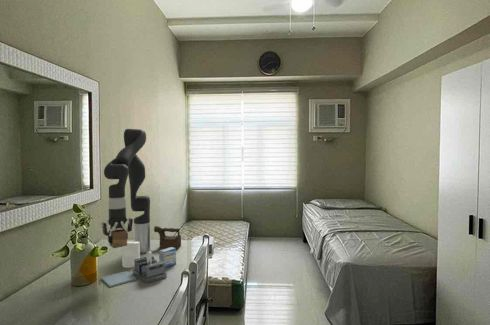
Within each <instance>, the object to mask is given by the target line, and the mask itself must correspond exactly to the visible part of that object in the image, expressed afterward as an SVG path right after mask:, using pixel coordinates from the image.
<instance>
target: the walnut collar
mask: <svg viewBox="0 0 490 325" xmlns="http://www.w3.org/2000/svg"><path fill="white" fill-rule="evenodd" d="M127 241H128V239H127V231H126V230H123V229H122V228H118V229H115V230H114V232H112V244H110V243H109V242H108V243H109V244H108V245H109V246H110V247H111V248H113V249H118V248H122V247H123V246H127Z"/></svg>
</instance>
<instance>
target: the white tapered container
mask: <svg viewBox="0 0 490 325" xmlns="http://www.w3.org/2000/svg"><path fill="white" fill-rule="evenodd" d="M121 258H122V259H121V260H122V261H121V266H122V267H123V268H125V269H126V268H127V269H129V268H130V269H131V268H134V259H138V258H141V253H140V242H134V241H128V240H127V246H123V247H121Z"/></svg>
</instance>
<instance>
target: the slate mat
mask: <svg viewBox="0 0 490 325" xmlns="http://www.w3.org/2000/svg"><path fill="white" fill-rule="evenodd" d="M100 279H101V280H102V281H103V282H104V283H105V284H106V285H107V286H108V287H109V288H113V287H115V286H116V287H117V286H119V285H122V284H126V283H130V282H133V281H137V278H136V276H134V275H133V274H131V272H129V271H127V270H124V271H121V272H117V273H113V274H109V275H105V276H102V277H101V278H100Z"/></svg>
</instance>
